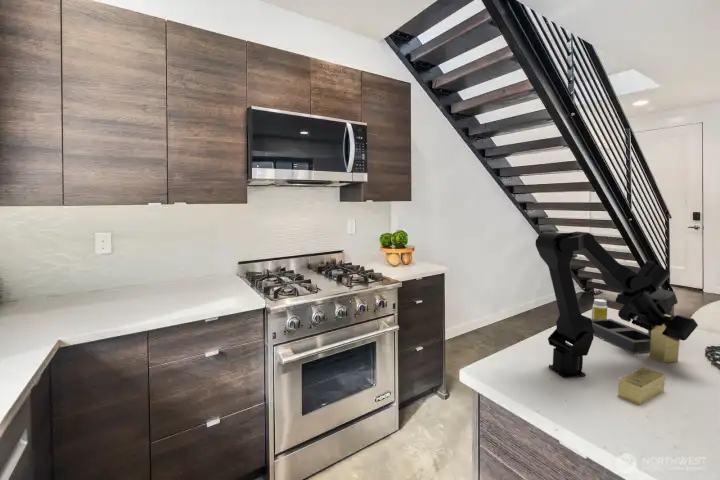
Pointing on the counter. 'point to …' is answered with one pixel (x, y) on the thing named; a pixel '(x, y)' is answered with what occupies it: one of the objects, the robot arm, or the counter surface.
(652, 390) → the block
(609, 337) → the compartment tray
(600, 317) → the supplement bottle
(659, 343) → the brass block
